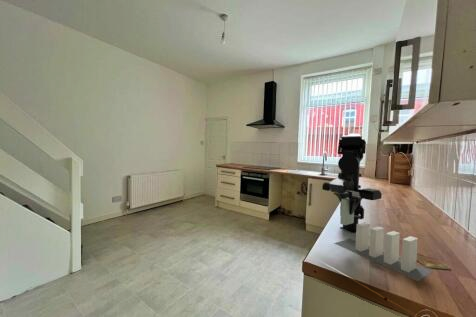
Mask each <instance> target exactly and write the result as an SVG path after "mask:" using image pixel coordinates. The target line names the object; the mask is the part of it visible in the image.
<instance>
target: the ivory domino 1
mask: <svg viewBox="0 0 476 317" xmlns="http://www.w3.org/2000/svg"><path fill="white" fill-rule="evenodd" d="M370 228H371V224H370V223H369V222H361V223H359V222H358V224H357V228H356V233H355V241H356V248H355V249H356V250H358V251H360V252H361V251H364V250H367V249H369V242H370Z"/></svg>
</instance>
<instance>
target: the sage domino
mask: <svg viewBox="0 0 476 317" xmlns="http://www.w3.org/2000/svg"><path fill="white" fill-rule="evenodd" d="M340 206H341V216H340V217H339V218H340V225H342V226H343V225H348V224H352V223H354V212H353V214H352V215H350V213H349V208H350V199H349V198H343V199H341V202H340Z"/></svg>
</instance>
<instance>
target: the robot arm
mask: <svg viewBox="0 0 476 317" xmlns="http://www.w3.org/2000/svg"><path fill="white" fill-rule="evenodd" d="M366 146H367V141H366V140H365V138H363V135H362V133H360V132H359V133H358V132H357V133H355V132H354V133H348V134H347V135H341V138H339V139H338V147H337V155H341V157H340V158H339V160H338V162H337V165H338V169H339V170H340V172H338V175H337V177H336V178H334V179H332V180H331V181H326V182H323V183H322V188H321V190H322V191H323V190H324V191H327V192H332V193H333V195H335V196H336V197H337V199H338V200H339V203H341V199H343V198H349V199H350V208H349V213H350V215H352V214H353V212H354V223H352V224H348V225H343V224H342V226H341V227H340V226H339V229H341V230H344V231H346V232H348V233H351V234H356V228H357V224H359V220H364V219H365V208H364V207H363V205H361V204H362V200H369V201H376V200H381V199H382V197H383V196H382V195H383V194H382V192H381V190H380V189H376V188H370V187H369V188H362V185H360V177H361V178H362V173H360V168H361V166H360V165H361V162H362V160H363V159H364V155H365V154H366V151H367V150H366ZM361 188H362V189H361ZM339 208H340V210H339V211H340V214H339V215H340V217H341V205H340V207H339Z"/></svg>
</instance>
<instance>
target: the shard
mask: <svg viewBox="0 0 476 317" xmlns="http://www.w3.org/2000/svg"><path fill="white" fill-rule="evenodd" d="M416 262H419V263H420V264H421V265H423V267H425V268H427V269H428V268H429V269H431V268H433V269H443V270H451V266H449V265H448V264H446V263H445V262H443V261H442V260H440V259H436V258H433V257H430V256H428V255H423V254H421V253H418V252H417V261H416Z"/></svg>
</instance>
